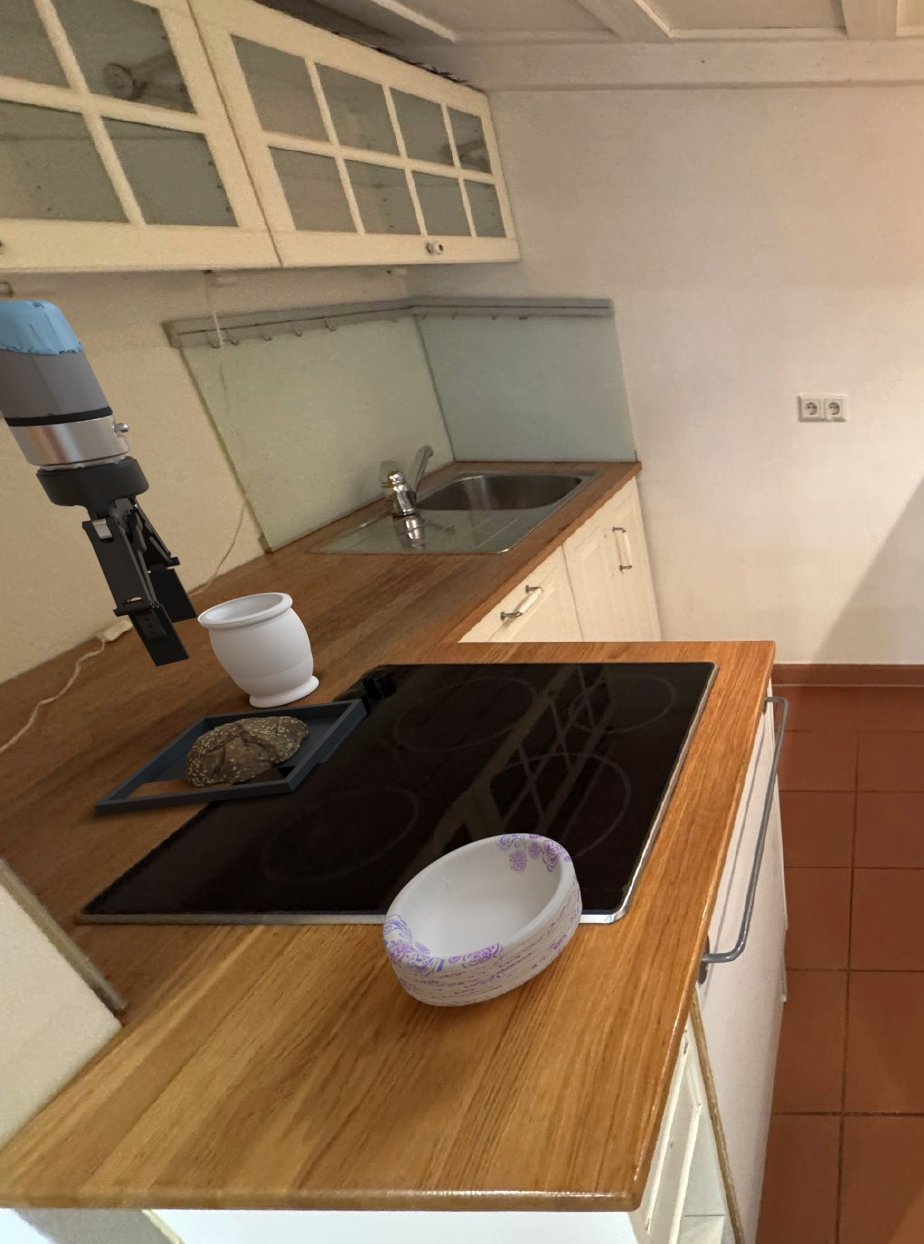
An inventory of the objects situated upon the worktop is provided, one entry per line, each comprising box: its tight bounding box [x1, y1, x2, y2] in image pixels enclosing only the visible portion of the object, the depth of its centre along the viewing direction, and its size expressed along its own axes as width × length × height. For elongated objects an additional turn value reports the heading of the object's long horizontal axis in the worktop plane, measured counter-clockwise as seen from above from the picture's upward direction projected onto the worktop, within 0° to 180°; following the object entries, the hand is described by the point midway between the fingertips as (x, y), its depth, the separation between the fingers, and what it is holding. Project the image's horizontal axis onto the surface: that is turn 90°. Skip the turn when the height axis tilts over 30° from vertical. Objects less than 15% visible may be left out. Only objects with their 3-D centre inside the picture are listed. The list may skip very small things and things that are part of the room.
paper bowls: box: [382, 833, 583, 1007], centre depth 63 cm, size 15×15×8 cm
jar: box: [197, 592, 320, 709], centre depth 104 cm, size 11×10×15 cm
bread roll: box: [184, 716, 309, 788], centre depth 90 cm, size 13×12×5 cm
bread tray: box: [93, 698, 368, 816], centre depth 91 cm, size 21×19×3 cm
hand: (178, 639), depth 82 cm, fingers open, 13 cm apart
